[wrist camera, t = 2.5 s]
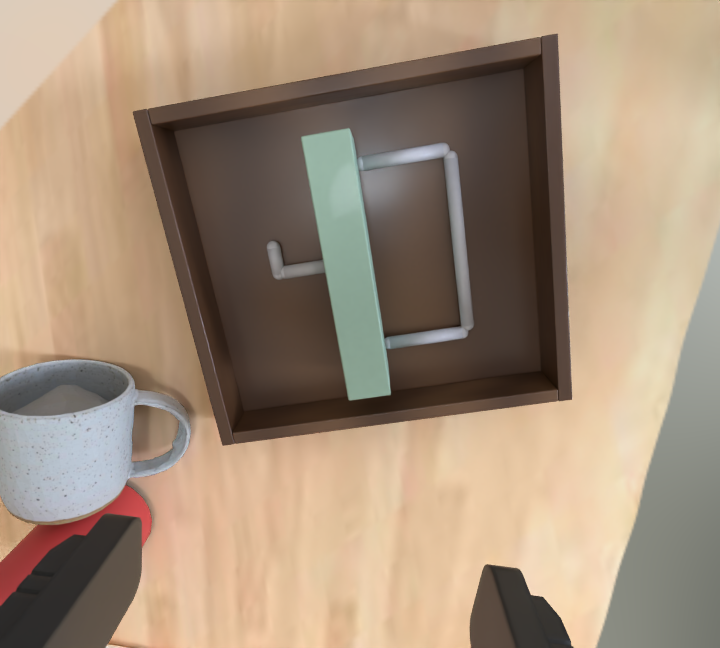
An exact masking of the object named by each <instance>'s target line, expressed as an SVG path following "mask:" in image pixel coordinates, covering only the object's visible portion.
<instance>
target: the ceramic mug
mask: <svg viewBox="0 0 720 648" xmlns="http://www.w3.org/2000/svg"><path fill="white" fill-rule="evenodd" d="M135 405H147V406H151V407H156V408H160V409H163V410H166V411H168V412H170V413H171V414H172V415H174V416H175V417H176V418H177V419H178V420H179V421H180V422H179V429H178V433H177V437H176V439H175V440H174V441H173V449H172V450H170V451H169V452H167V453H166V454H164V455H162V456H160V457H155V458H154V459H150V460H145V461H136V462H132V461H131V456H132V444H133V443H132V429H133V422H134V406H135ZM190 435H191V428H190V421H189V416H188V414H187V411H186V409H185V408H184V407H183V406H182V405H181V404H180V403H179V402H178V401H177V400H176V399H174V398H172V397H170V396H168V395H165V394H161V393H157V392H152V391H146V390H137V389H135V383H134V379H133V378H132V376H131V374H130V373H129V372H127V371H126V370H124V369H123V368H121V367H119V366H116V365H113V364H109V363H105V362H101V361H93V360H83V359H81V360H76V359H69V360H58V361H50V362H43V363H37V364H34V365H31V366H28V367H24V368H21V369H18V370H16V371H13V372H11V373H9V374H6V375H4V376H2V377H1V378H0V496H1V498H2V500H3V503H4V504H5V506H6V508H7V509H8V511H9V512H10V513H11V514H12V515H13V516H15V517H16V518H18V519H20V520H22V521H25V522H27V523H32V524H39V525H59V524H65V523H70V522H74V521H78V520H81V519H83V518H86V517H89V516H91V515H93V514H95V513H97V512H99V511H101V510H102V509H104V508H105V507H106V506H108V505H109V504H111V503H112V502H113V501H114V500H115V499H116V498H117V497H118V496H119V495H120V494H121V492H122V490H123V489H124V487H125V484H126V482H127V480H128V479H129V478H131V477H135V478H138V477H146V476H150V475H155V474H157V473H160V472H162V471H165V470H167V469H169V468H170V467H172V466H173V465H174V464H175V463H177V462H178V460H179V459H180V458H181V457H182V456H183V455H184V453H185V451H186V449H187V447H188V444H189V441H190Z"/></svg>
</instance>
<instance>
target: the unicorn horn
mask: <svg viewBox="0 0 720 648" xmlns="http://www.w3.org/2000/svg"><path fill="white" fill-rule="evenodd" d="M106 648H128V647H122V646H116V645H108V644H107V646H106Z"/></svg>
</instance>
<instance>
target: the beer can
mask: <svg viewBox="0 0 720 648" xmlns="http://www.w3.org/2000/svg"><path fill="white" fill-rule="evenodd" d="M106 513H111V514H118V515H126V516H134V517H139V518H141V521H142V546H143V545H144V543H145V542H146V540H147V538H148V536H149V535H150V532H151V524H152V519H151V514H150V510H149V507H148V506H147V504H146V503H145V501H144V500H143V498H142V497H141V496H140V495H139V494H138V493H137V492H136V491H135V490H134V489H132V488H131V487H129V486H127V485H125V487H124V489H123V490H122V492H121V494H120V495H119V496H118V497H117V498H116V499H115V500H114V501H113V502H112V503H111V504H109V505H108V506H106V507H105V508H104V509H102V510H101V511H99V512H97V513H95V514H93V515H91V516H89V517H86V518H83V519H81V520H78V521H74V522H70V523H65V524H59V525H39V524H38V525H37V526H36V527H35V528H34V529H33V530H32V531H31V532H30V533H29V534H28V535H27V536H26V537H25V538H24V539H23V540H22V541H21V542H20V543H19V544H18V545H17V546H16V547H15V548H14V549H13V550H12V551H11V552H10V553H9V554H8V555H7V556H6V557H5V558H4V559H3V560H2V561H1V562H0V606H1V605H2V604H3V603H4V601H5V600H6V599H7V598H8V597H9V596H10V595H11V593H12V592H15V591H16V589H17V587H18V586H19V584H20V583H21V582H22V581H23V580H24V579H25V578H26V576H27V575H28V574H31V572H32V570H33V568H34V567H35V566H36V565H37V564H38V563H39V562H40V561H41V559H42V558H43V557H44V556H45V555H46V554H47V553H48V551H49V550H51V549H52V548H54V547H55V546H57V545H58V544H60V543H61V542H63V541H64V540H66V539H67V538H69V537H71V536H72V535H74V534H77V535H85V536H86V535H87V534H88V532H89V531H90V530H91V529H92V527H93V526H94V525H95V524H96V522H97V521H98V520H99V519H100V518H101V517H102V516H103V515H104V514H106Z"/></svg>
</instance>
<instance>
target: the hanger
mask: <svg viewBox="0 0 720 648" xmlns="http://www.w3.org/2000/svg"><path fill="white" fill-rule="evenodd" d="M301 142H302V147H303V153H304V158H305V164H306V169H307V175H308V180H309V186H310V191H311V197H312V202H313V208H314V213H315V219H316V224H317V230H318V235H319V241H320V246H321V252H322V257H323V260H318V261H312V262H305V263H299V264H293V265H286V266H284V263H283V258H282V253H281V248H280V245H279V243H278V242H276V241H270V242H269V243H268V244H267V251H268V256H269V261H270V265H271V270H272V275H273V277H274V278H275V279H277V280H281V279H288V278H294V277H301V276H307V275H314V274H320V273H325V274H326V279H327V285H328V290H329V296H330V301H331V307H332V312H333V318H334V323H335V329H336V334H337V340H338V345H339V351H340V356H341V362H342V367H343V373H344V378H345V383H346V389H347V394H348V399H349V400H357V399H364V398H372V397H379V396H386V395H391V389H390V378H389V368H388V359H387V352H386V348H387V349H395V348H402V347H409V346H416V345H423V344H430V343H437V342H444V341H451V340H458V339H464V338H466V337H467V336H468V330H471V329H472V328H473V326H474V320H473V310H472V299H471V289H470V279H469V268H468V258H467V248H466V238H465V227H464V217H463V207H462V197H461V186H460V176H459V166H458V156H457V154H456V153H455V152H454V151H450V148H449V146H448V144H446V143H437V144H432V145H426V146H420V147H414V148H408V149H402V150H396V151H391V152H385V153H379V154H373V155H367V156H361V157H359V158H358V159H357V157H356V150H355V143H354V138H353V136H352V133H351V131H350V129H349V128H346V129H341V130H335V131H329V132H324V133H318V134H312V135H306V136H302V137H301ZM443 157H444V158H443ZM437 158H443V160H444V169H445V179H446V188H447V198H448V207H449V217H450V226H451V236H452V245H453V255H454V264H455V274H456V283H457V293H458V302H459V312H460V321H461V326H459V327H453V328H446V329H439V330H432V331H425V332H418V333H411V334H404V335H397V336H390V337H387V338H385V339H384V333H383V326H382V320H381V313H380V307H379V300H378V294H377V287H376V281H375V274H374V268H373V261H372V254H371V248H370V241H369V235H368V228H367V222H366V215H365V209H364V202H363V196H362V189H361V183H360V176H359V170H360V171H366V170H372V169H378V168H384V167H390V166H396V165H402V164H408V163H414V162H420V161H426V160H431V159H437ZM358 169H359V170H358Z"/></svg>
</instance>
